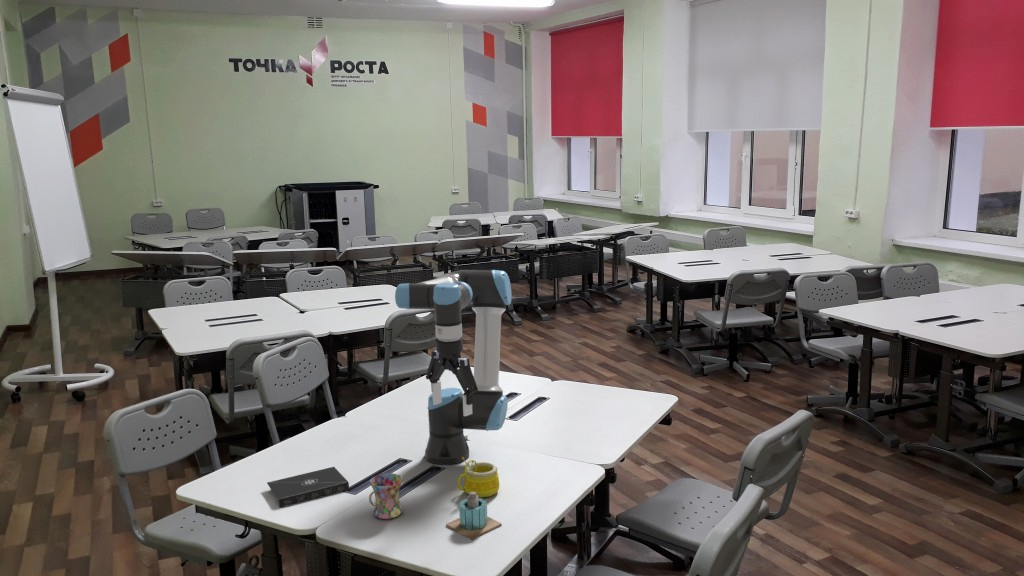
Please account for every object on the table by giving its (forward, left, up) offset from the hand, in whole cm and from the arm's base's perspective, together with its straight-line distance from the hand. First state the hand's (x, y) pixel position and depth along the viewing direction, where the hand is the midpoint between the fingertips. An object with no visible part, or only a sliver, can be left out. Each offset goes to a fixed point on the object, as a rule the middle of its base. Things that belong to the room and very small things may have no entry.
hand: (452, 409), depth 220 cm
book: (-43, -25, -31) cm, 58 cm away
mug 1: (-10, -18, -30) cm, 37 cm away
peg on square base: (+13, -4, -30) cm, 33 cm away
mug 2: (-2, +11, -30) cm, 32 cm away
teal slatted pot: (+13, -4, -29) cm, 32 cm away
